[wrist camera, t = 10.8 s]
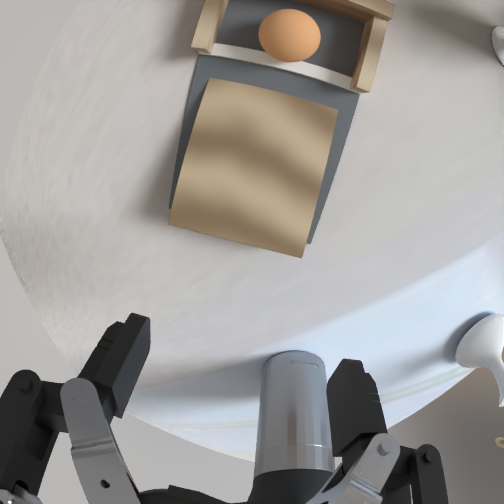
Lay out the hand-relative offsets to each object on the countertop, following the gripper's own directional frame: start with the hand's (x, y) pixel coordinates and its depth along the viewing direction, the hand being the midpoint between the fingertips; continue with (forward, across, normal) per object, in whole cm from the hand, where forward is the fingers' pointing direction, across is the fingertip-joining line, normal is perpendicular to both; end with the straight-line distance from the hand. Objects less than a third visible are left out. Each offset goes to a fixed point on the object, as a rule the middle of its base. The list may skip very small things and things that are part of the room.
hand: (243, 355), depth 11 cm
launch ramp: (+19, +2, -4) cm, 19 cm away
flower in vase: (+19, -41, +12) cm, 46 cm away
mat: (+19, +2, -10) cm, 21 cm away
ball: (+16, +1, -16) cm, 23 cm away
